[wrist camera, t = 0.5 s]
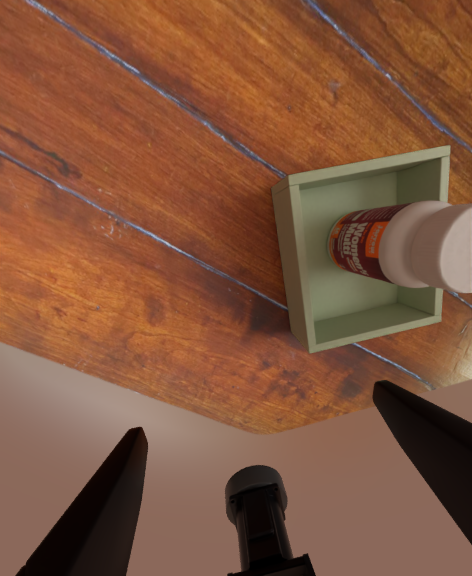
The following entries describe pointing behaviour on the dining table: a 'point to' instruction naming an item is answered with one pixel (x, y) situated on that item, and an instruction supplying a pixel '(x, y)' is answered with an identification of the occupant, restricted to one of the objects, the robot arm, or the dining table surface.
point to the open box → (340, 283)
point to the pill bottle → (407, 244)
